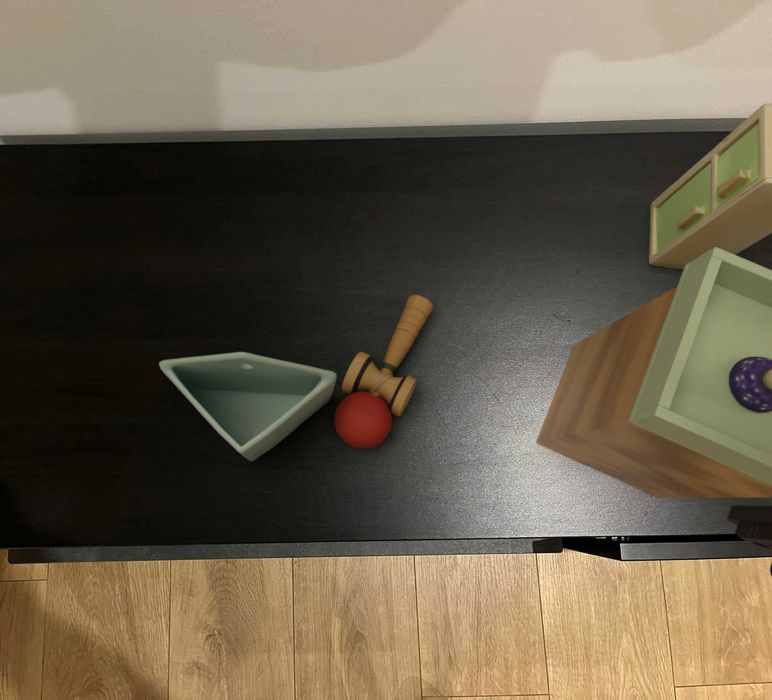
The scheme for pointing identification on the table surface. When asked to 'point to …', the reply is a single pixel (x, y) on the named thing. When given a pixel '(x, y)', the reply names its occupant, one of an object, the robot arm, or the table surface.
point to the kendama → (380, 384)
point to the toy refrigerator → (718, 198)
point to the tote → (711, 364)
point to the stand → (612, 411)
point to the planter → (251, 395)
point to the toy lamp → (752, 383)
